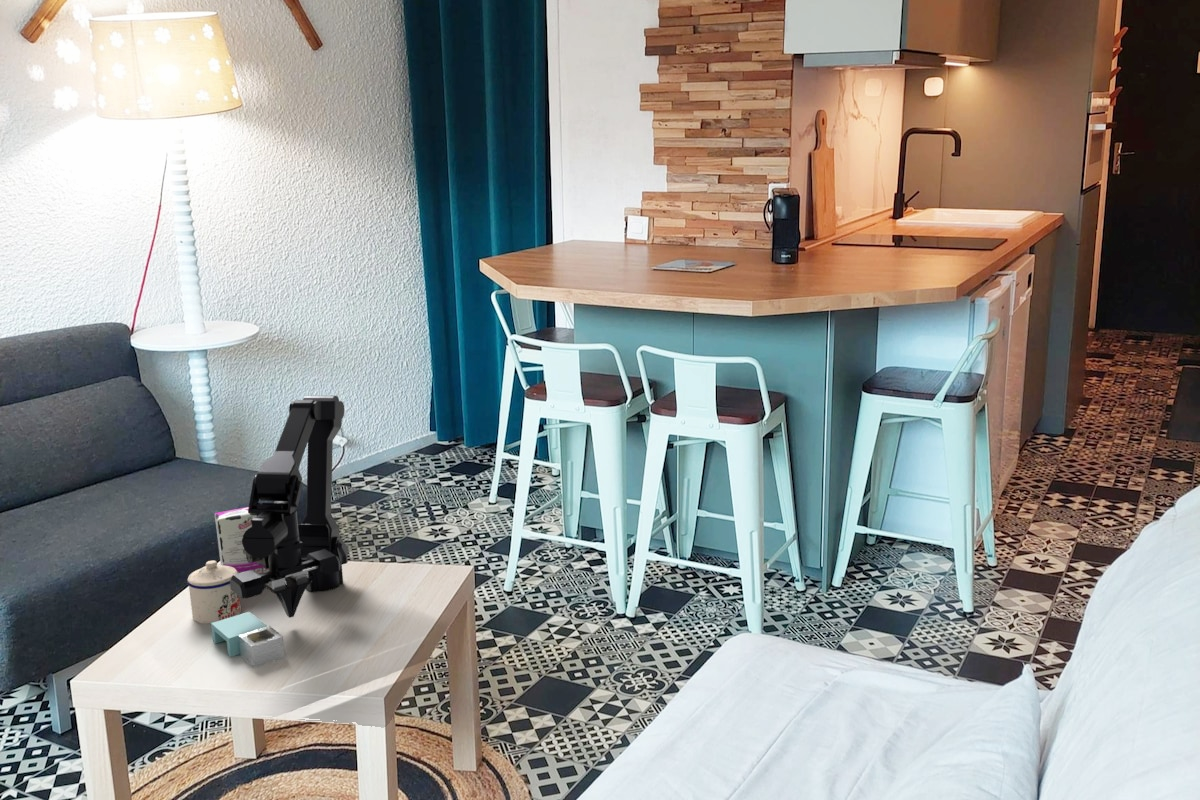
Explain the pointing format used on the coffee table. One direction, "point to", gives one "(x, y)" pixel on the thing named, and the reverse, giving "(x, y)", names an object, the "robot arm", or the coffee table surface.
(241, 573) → the robot arm
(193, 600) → the teacup with lid
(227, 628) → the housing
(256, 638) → the hollow square metal block
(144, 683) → the coffee table surface
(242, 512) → the candy bar box
